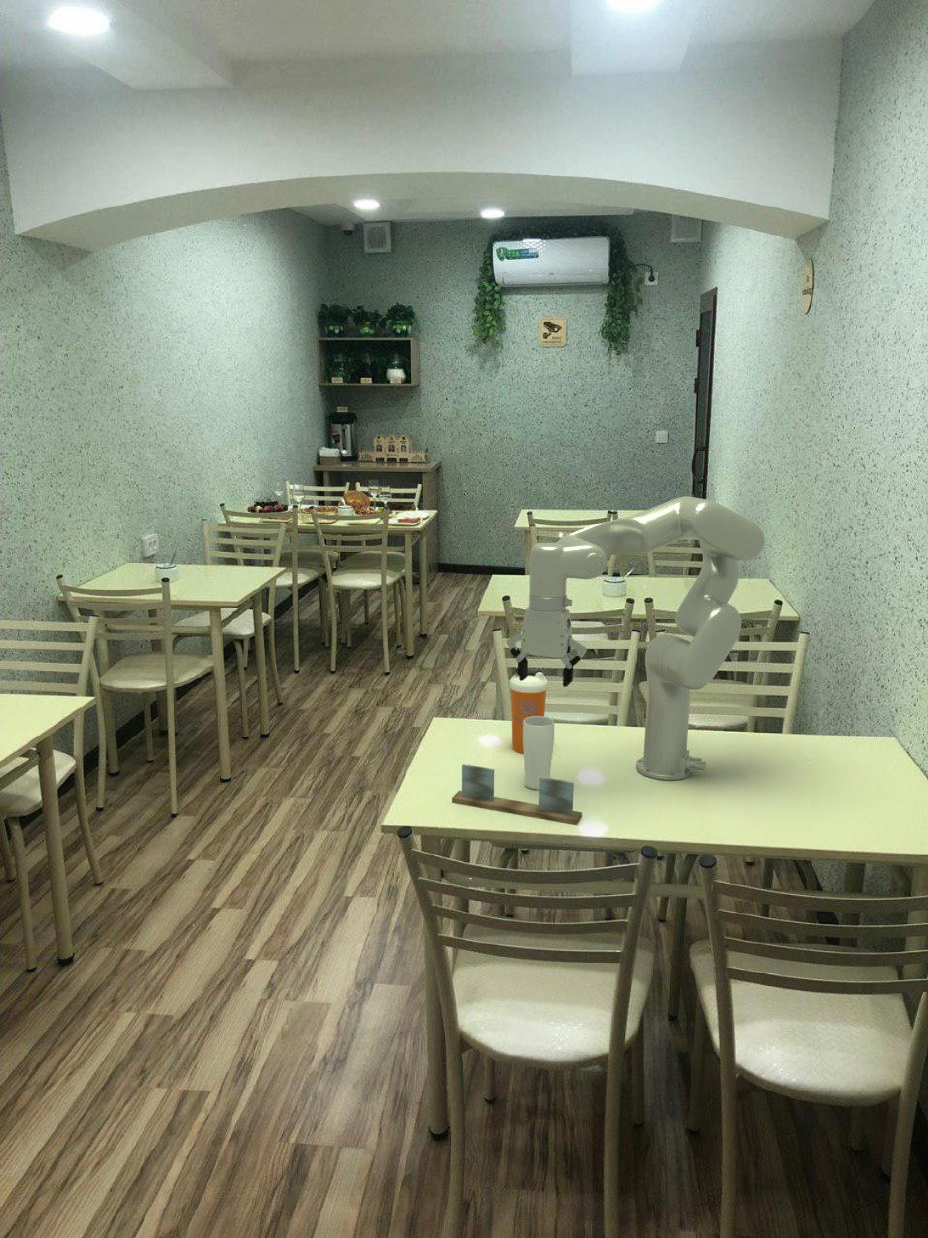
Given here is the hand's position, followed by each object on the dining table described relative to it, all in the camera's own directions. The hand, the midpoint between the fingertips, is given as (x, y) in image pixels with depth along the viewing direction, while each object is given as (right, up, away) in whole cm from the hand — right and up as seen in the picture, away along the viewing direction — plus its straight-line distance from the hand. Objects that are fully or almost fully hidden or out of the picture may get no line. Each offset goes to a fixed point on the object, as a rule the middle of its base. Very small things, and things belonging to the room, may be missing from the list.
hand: (544, 681), depth 198 cm
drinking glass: (-1, -24, +8) cm, 25 cm away
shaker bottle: (-2, -18, +29) cm, 34 cm away
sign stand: (-6, -26, -4) cm, 27 cm away
